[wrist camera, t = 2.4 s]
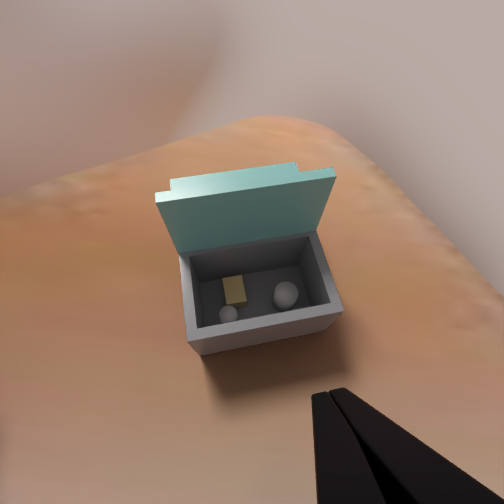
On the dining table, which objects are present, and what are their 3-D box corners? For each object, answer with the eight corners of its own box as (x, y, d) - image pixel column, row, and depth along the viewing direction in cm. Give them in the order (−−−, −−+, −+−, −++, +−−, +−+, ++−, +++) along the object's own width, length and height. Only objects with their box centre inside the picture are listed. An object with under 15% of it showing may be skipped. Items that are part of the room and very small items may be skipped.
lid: (315, 230, 20) (336, 176, 15) (178, 253, 19) (155, 202, 14) (294, 168, 22) (306, 105, 18) (172, 186, 21) (151, 124, 17)
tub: (324, 330, 22) (344, 310, 17) (200, 355, 21) (187, 341, 16) (286, 208, 27) (294, 168, 22) (185, 224, 26) (172, 186, 21)
